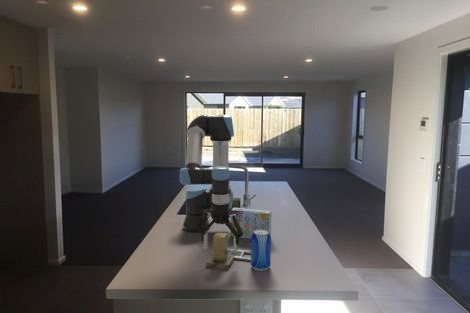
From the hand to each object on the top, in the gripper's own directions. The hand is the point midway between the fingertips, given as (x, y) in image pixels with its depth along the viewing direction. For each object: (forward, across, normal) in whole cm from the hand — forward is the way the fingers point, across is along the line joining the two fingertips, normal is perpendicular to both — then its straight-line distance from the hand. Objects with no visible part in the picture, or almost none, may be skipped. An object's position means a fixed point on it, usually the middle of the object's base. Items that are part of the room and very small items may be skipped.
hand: (220, 249), depth 155 cm
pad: (+6, 0, 0) cm, 6 cm away
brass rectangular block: (+4, 0, 0) cm, 4 cm away
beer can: (+7, +18, +1) cm, 19 cm away
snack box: (+7, +6, +35) cm, 36 cm away
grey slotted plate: (+6, +7, +10) cm, 14 cm away
